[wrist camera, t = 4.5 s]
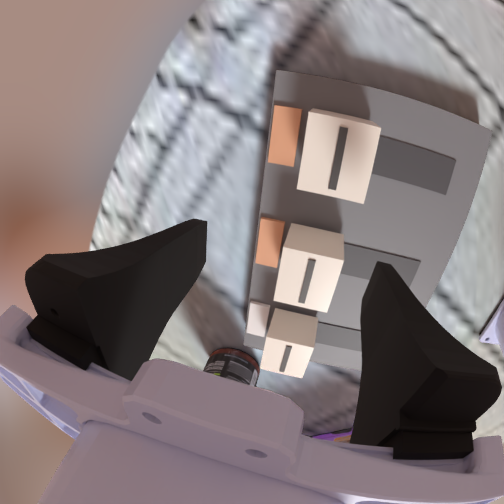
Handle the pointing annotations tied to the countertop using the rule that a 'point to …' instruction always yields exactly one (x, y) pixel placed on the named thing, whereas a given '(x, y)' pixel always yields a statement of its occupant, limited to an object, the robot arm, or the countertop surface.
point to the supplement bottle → (233, 366)
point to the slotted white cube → (338, 155)
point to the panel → (375, 205)
